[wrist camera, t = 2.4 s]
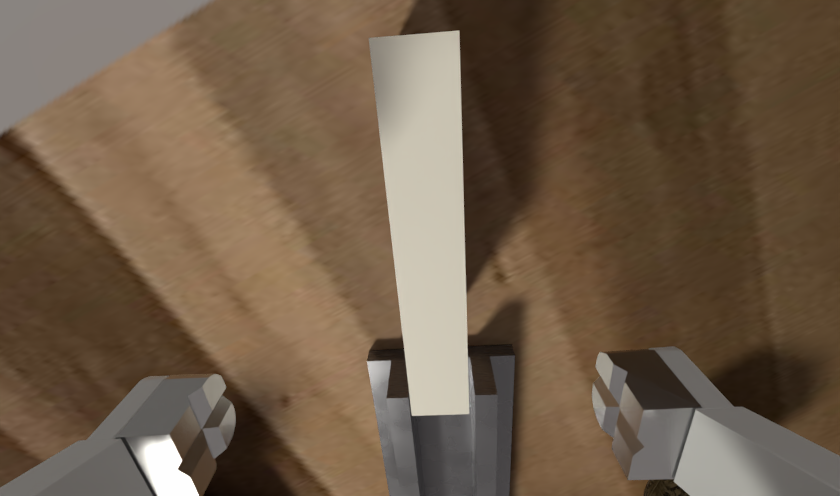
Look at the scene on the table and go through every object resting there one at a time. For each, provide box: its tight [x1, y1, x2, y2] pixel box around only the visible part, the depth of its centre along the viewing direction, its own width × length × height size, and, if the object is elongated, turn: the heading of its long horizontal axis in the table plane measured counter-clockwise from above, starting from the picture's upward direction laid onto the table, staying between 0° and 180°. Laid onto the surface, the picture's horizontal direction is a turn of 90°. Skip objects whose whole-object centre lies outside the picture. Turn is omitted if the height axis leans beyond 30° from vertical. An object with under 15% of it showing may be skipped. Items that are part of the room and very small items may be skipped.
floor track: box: [367, 345, 515, 496], centre depth 27 cm, size 20×9×4 cm, turn 4°
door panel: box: [369, 30, 469, 416], centre depth 17 cm, size 14×2×8 cm, turn 4°
